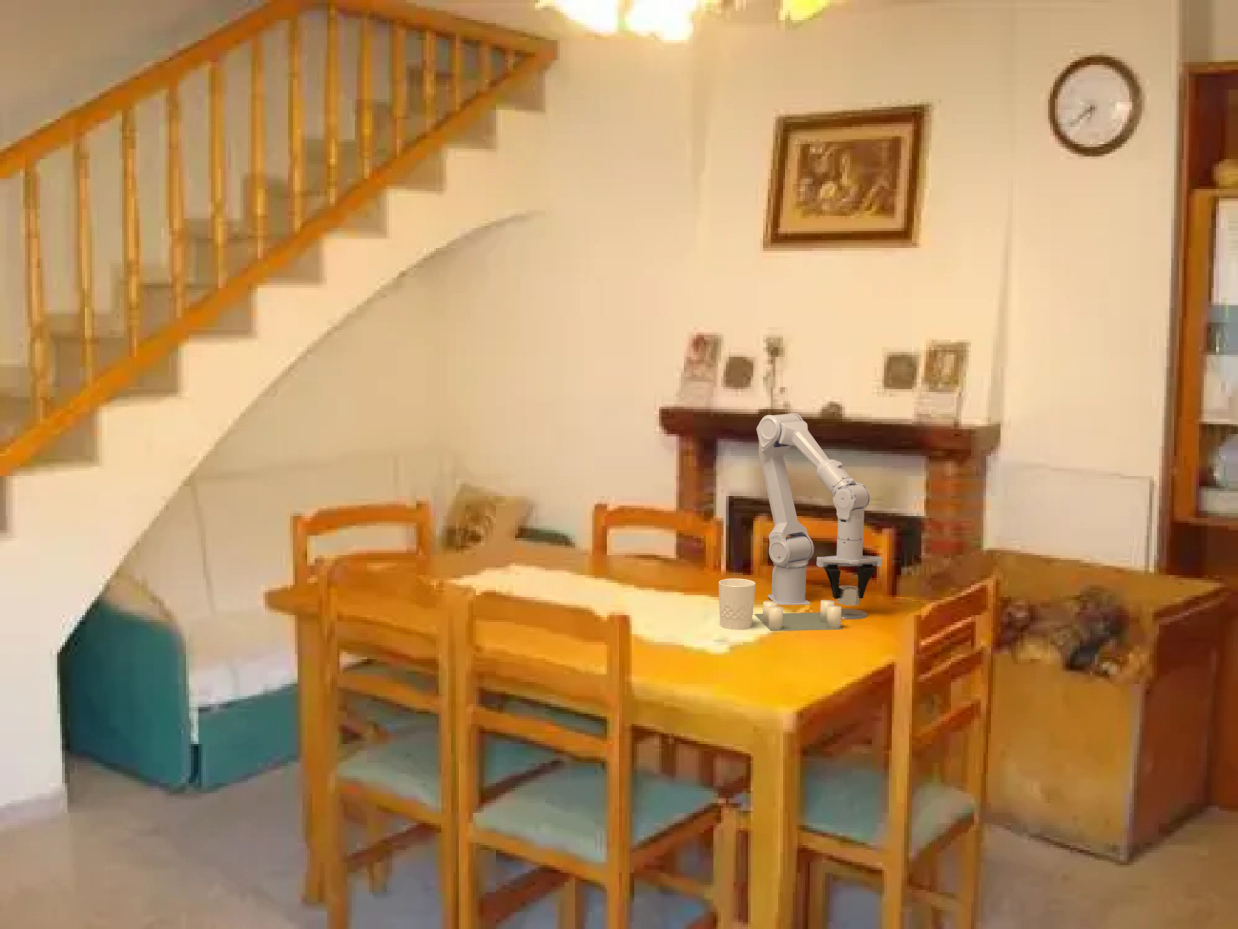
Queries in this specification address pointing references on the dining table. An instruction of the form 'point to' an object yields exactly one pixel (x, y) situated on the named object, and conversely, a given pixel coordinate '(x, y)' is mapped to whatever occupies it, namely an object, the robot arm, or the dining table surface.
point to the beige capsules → (827, 614)
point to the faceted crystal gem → (849, 595)
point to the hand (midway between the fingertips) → (847, 597)
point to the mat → (800, 622)
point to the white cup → (736, 603)
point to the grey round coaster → (852, 614)
